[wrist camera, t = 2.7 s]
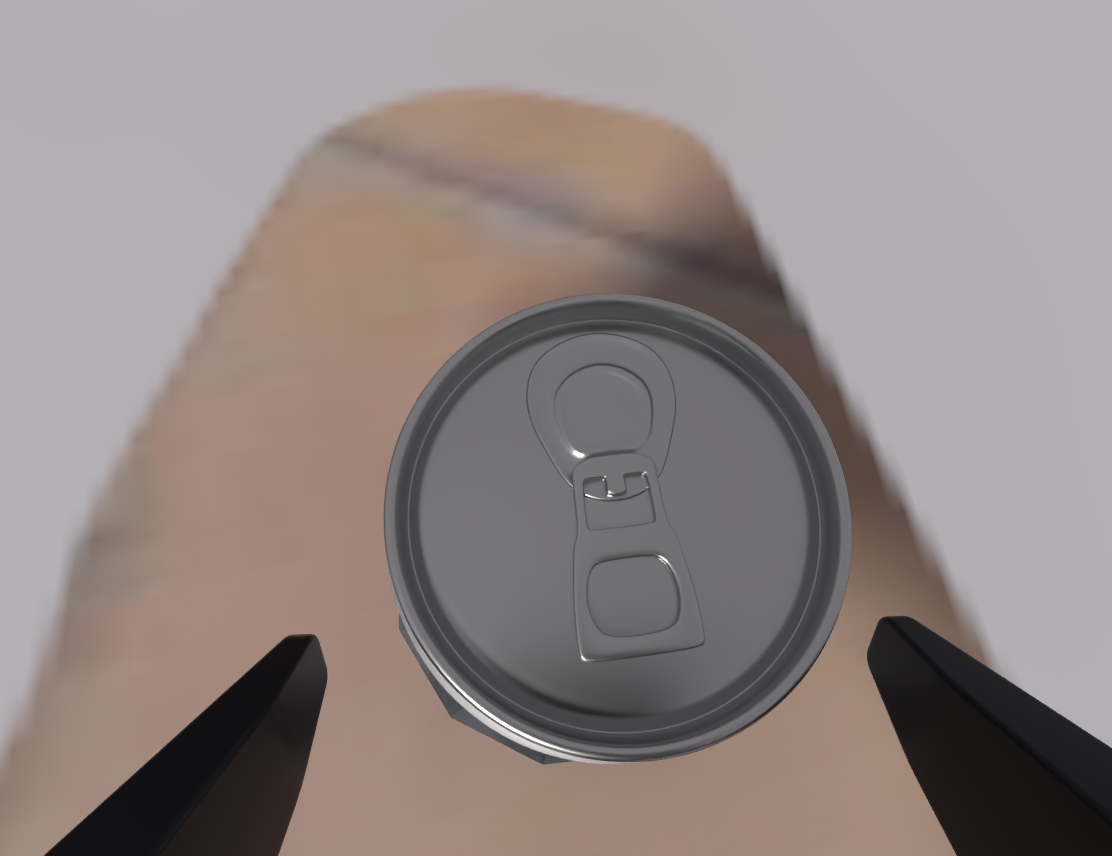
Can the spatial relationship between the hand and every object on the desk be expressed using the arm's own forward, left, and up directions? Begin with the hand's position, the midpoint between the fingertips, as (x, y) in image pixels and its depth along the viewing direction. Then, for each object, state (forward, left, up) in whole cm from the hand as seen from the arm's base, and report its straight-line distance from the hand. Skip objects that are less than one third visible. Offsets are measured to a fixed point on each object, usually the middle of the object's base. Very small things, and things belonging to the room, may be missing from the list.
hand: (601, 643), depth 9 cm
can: (+2, 0, -9) cm, 9 cm away
